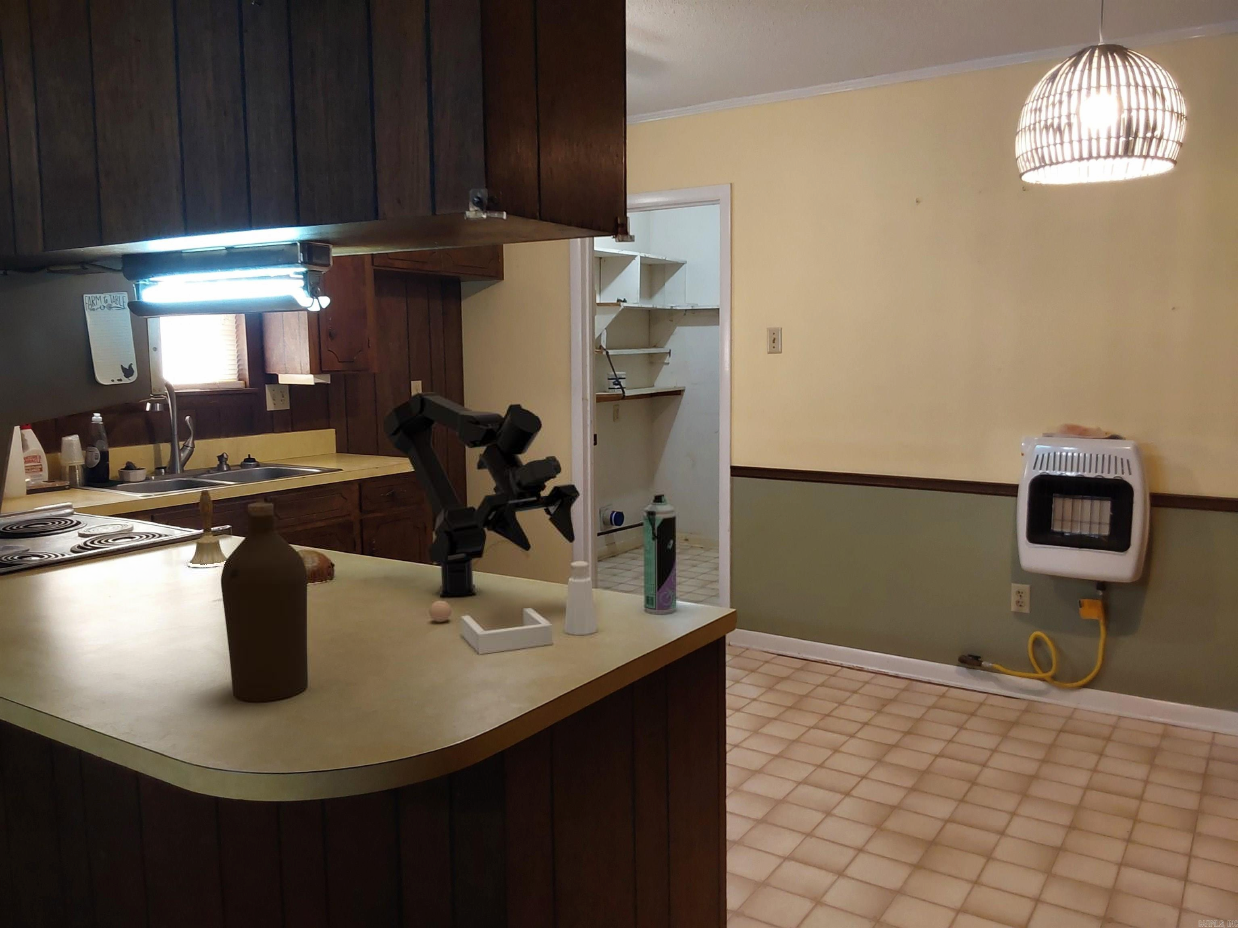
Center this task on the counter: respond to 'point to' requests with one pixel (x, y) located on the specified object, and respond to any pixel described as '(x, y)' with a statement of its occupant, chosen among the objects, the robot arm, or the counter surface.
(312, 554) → the bread roll
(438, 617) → the ball
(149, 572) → the counter surface
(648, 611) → the spray can
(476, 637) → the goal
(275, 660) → the dark brown bottle
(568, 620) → the pepper shaker
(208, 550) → the wooden handled brush
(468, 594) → the robot arm
